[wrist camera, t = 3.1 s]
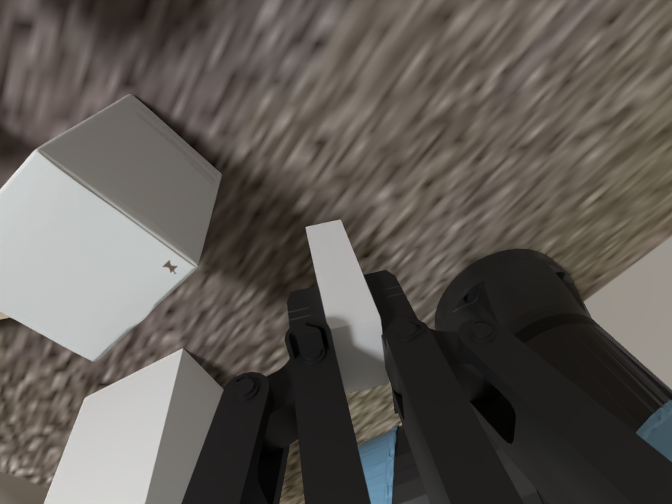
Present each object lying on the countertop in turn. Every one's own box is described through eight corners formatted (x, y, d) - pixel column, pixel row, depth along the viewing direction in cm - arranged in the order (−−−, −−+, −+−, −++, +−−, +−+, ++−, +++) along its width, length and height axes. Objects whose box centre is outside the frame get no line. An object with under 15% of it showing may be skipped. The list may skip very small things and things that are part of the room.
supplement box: (130, 88, 30) (35, 141, 17) (225, 174, 34) (205, 268, 21) (54, 171, 32) (-82, 275, 19) (152, 243, 36) (95, 368, 23)
